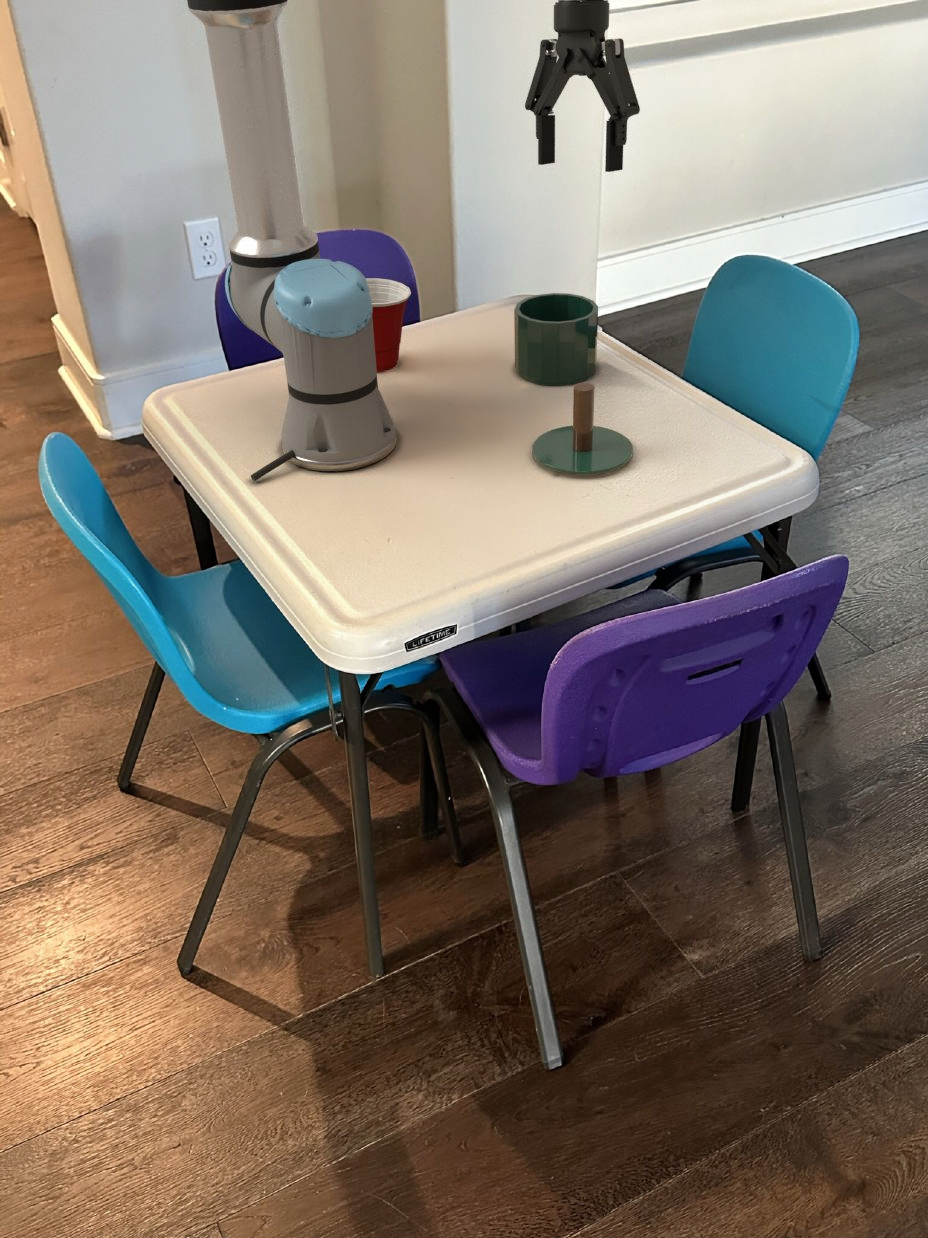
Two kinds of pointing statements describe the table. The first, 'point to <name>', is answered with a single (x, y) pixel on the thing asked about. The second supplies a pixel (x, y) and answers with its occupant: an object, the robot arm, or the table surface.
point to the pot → (556, 338)
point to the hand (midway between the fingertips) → (579, 167)
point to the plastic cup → (387, 319)
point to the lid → (582, 441)
